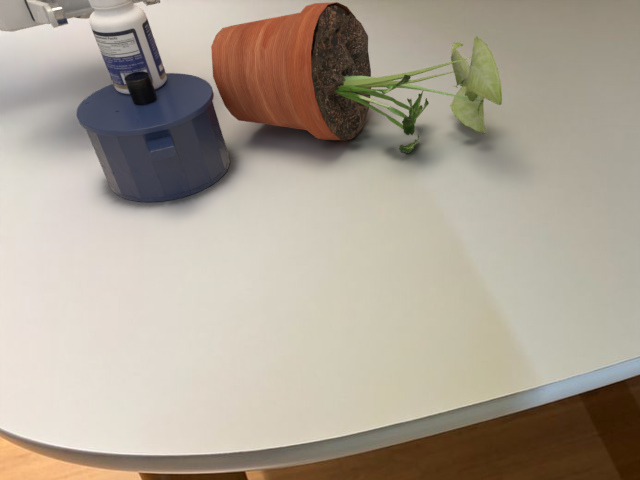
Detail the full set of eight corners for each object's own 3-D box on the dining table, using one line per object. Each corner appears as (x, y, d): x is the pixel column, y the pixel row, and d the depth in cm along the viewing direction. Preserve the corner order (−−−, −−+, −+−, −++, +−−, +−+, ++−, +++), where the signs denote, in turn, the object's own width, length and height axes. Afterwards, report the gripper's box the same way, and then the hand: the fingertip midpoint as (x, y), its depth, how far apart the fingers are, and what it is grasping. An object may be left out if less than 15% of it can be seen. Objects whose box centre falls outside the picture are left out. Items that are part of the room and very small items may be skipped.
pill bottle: (141, 71, 87) (107, -25, 81) (178, 78, 85) (147, -19, 79) (103, 91, 84) (65, -7, 77) (142, 99, 82) (105, -1, 75)
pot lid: (86, 154, 76) (70, 118, 74) (76, 100, 85) (61, 66, 83) (226, 122, 80) (216, 86, 77) (203, 74, 89) (193, 40, 86)
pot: (119, 227, 80) (89, 158, 74) (103, 150, 92) (76, 86, 86) (245, 194, 83) (225, 127, 78) (213, 125, 95) (194, 62, 90)
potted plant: (228, 172, 90) (530, 177, 81) (179, 31, 80) (515, 19, 71) (289, 117, 102) (560, 116, 92) (253, -12, 92) (552, -28, 83)
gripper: (-39, -37, 84) (-18, -2, 76) (153, -75, 92) (192, -47, 84) (-11, 24, 89) (12, 63, 80) (171, -17, 97) (209, 15, 88)
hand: (106, 7), depth 82 cm, fingers open, 8 cm apart
